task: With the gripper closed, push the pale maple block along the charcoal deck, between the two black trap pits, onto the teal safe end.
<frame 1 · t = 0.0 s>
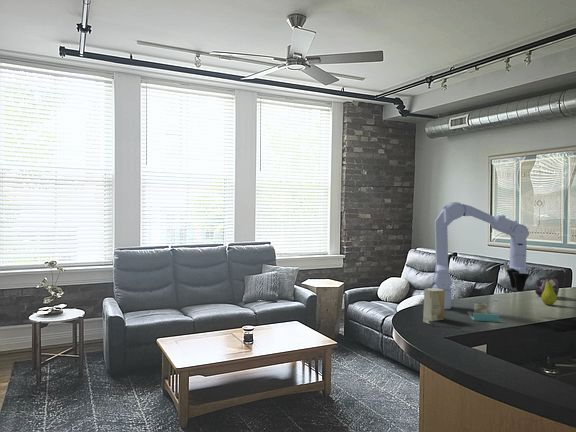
hand: (517, 289, 180), 10 cm above the counter, tool pointing down, fingers open, 7 cm apart
skincare box: (433, 323, 167), on the counter
maple block: (480, 314, 175), point 1 cm above the counter, touching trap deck
mineral specimen: (546, 297, 218), on the counter
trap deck: (481, 320, 172), on the counter
fruit: (548, 305, 200), on the counter
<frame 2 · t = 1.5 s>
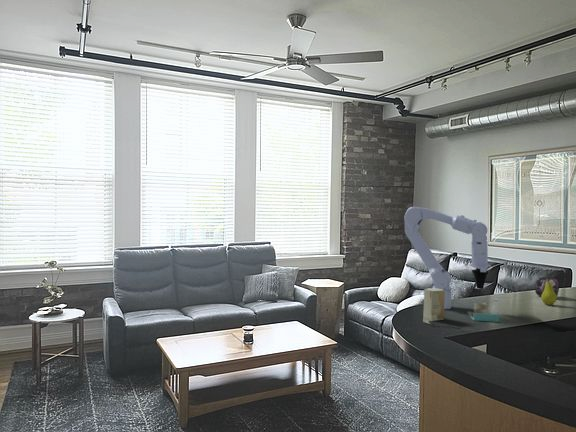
hand: (480, 288, 180), 10 cm above the counter, tool pointing down, fingers closed
nothing on the counter moved.
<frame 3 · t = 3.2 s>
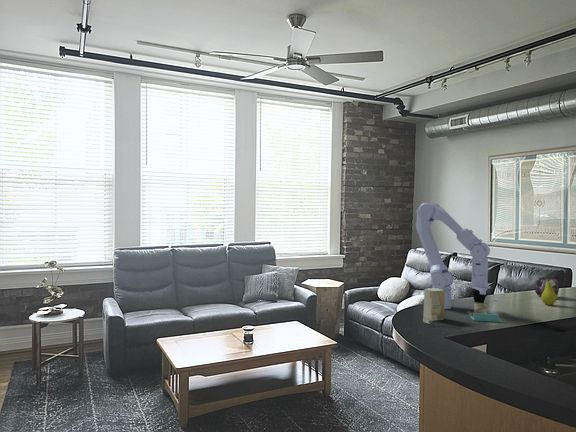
hand: (478, 309, 178), 3 cm above the counter, tool pointing down, fingers closed
maple block: (480, 314, 175), point 2 cm above the counter, touching gripper, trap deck
everything else where it was.
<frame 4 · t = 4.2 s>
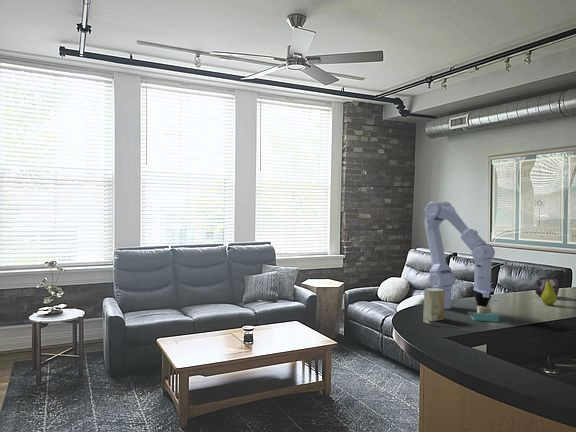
hand: (481, 313, 172), 3 cm above the counter, tool pointing down, fingers closed
maple block: (483, 317, 169), point 2 cm above the counter, touching gripper, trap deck
everything else where it was.
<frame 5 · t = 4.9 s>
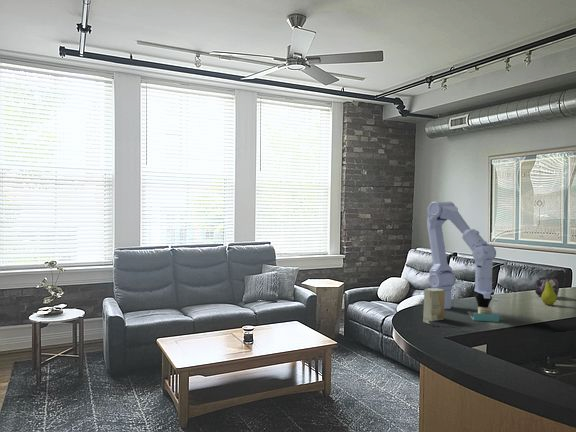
hand: (482, 314, 171), 3 cm above the counter, tool pointing down, fingers closed
maple block: (484, 319, 167), point 2 cm above the counter, touching gripper, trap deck
everything else where it was.
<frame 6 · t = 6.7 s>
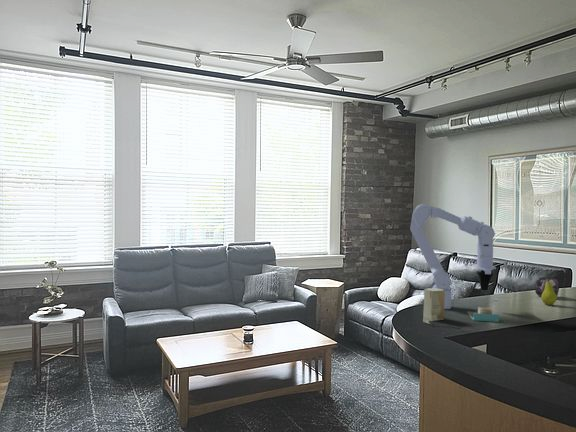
hand: (484, 289, 182), 9 cm above the counter, tool pointing down, fingers closed
maple block: (484, 319, 167), point 1 cm above the counter, touching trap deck
everything else where it was.
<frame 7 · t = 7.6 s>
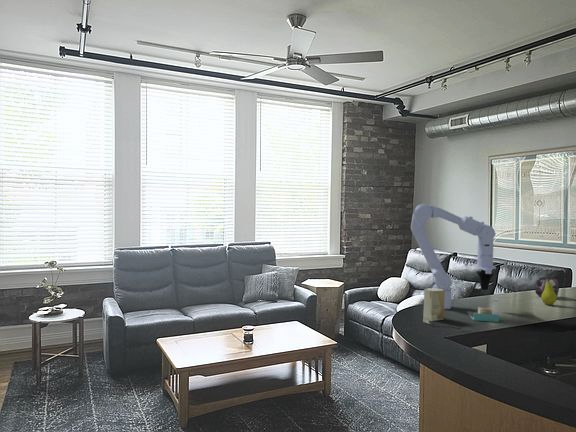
hand: (484, 289, 183), 9 cm above the counter, tool pointing down, fingers closed
nothing on the counter moved.
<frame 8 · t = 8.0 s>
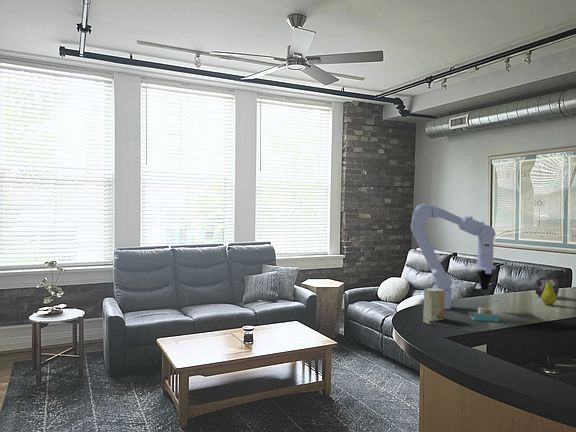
hand: (484, 289, 183), 9 cm above the counter, tool pointing down, fingers closed
nothing on the counter moved.
at the end: maple block 0.6 cm from the target spot on the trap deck, point 1.5 cm above the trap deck's base; maple block tilted 0°; maple block moved 7.9 cm from its start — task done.
